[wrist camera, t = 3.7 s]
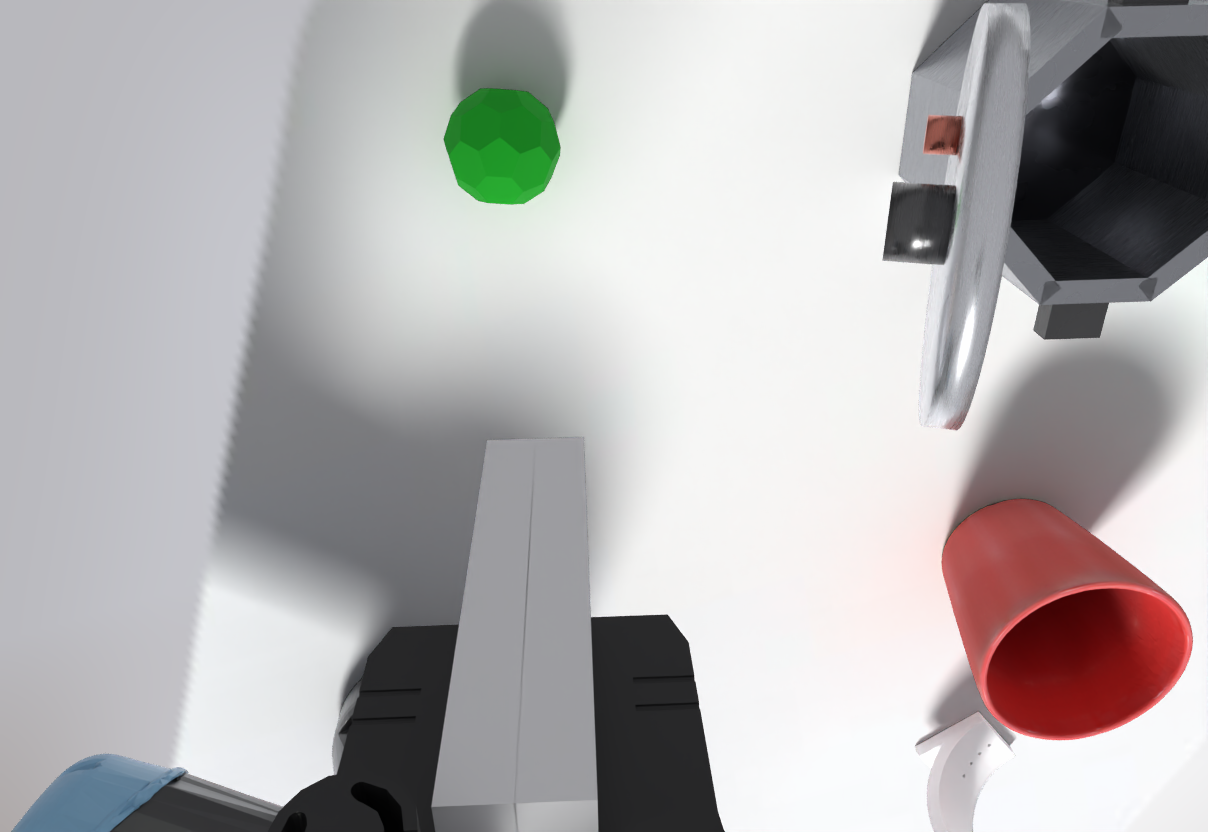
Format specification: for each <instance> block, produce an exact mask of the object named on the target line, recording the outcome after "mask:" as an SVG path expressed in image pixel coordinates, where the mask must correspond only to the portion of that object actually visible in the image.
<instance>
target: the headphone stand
mask: <svg viewBox="0 0 1208 832" xmlns="http://www.w3.org/2000/svg"><path fill="white" fill-rule="evenodd" d="M915 748H916V751H917V753H918V755H919V757H920V758H921V759H922V760H923V761H924V762H925V763H926V764H927V765H928V766H929V767H930V768H931V771H930V775H929V779H928V785H927V806H928V813H929V817H930V821H931V824H932V827H933V830H934V832H973V816H974V810H975V806H976V802H977V800H978V797H979V794H980V792H981V790H982V788H983V787H984V785H985V783H986V782H987V780H988V779H989V778H990V777H991V775H992V774H993V773H994V772H995V771H996V770H997V769H998V768H999V767H1000V766H1001V765H1003V764H1004V763H1005V762H1007V761H1008V760H1010V759H1011V758H1013V757H1015V754H1014V753H1013V751H1012V749H1011V747H1010V746H1009V745H1008V743H1007V742H1006V741H1005V740H1004V739H1003V738H1002V737H1001V736H1000V735H999V734H998V732H997V731H996V730H995V729H994V728H993V727H992V726H991V725H990V724H989V722H988V721H987V720H986V719H985V718H984V717H983V716H982V715H981V714H980V713H979V711H978V712H976V713H974V714H973V715H971V716H969V717H967V718H965V719H964V720H962V721H960V722H958V723H956V724H955V725H953V726H951V727H949V728H947V729H946V730H944V731H942V732H940V733H938V734H937V735H935V736H933V737H931V738H929V739H928V740H926V741H924V742H922V743H920V744H919V745H917V746H915Z"/></svg>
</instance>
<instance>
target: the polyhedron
mask: <svg viewBox="0 0 1208 832" xmlns="http://www.w3.org/2000/svg"><path fill="white" fill-rule="evenodd" d="M444 142H445V146H446V149H447V152H448V155H449V158H450V162H451V165H452V168H453V171H454V174H455V177H456V180H457V183H458V185H459V186H460V187H461V188H462V189H464V190H465V191H466V192H467V193H469V194H470V195H471V196H473V197H474V198H475V199H476V200H478V201H481V202H486V203H496V204H524V203H526V202H528V201H529V200H531V199H532V198H534V197H535V196H537V195H538V194H540V193H542V192H543V191H544V190H545V188H546V186H547V185H548V183H549V181H550V179H551V177H552V175H553V172H554V169H555V167H556V164H557V162H558V159H559V156H560V143H559V139H558V136H557V132H556V128H555V124H554V121H553V119H552V117H551V115H550V113H549V110H548V108H547V107H545V106H544V105H543V104H542V103H541V102H540V101H538V100H537V99H536V98H535V97H534V96H533V95H531V94H530V93H529V92H525V91H518V90H506V89H492V88H484V89H479V90H478V91H476V92H475V93H473V94H472V95H470V96H469V97H467V98H466V99H464V100H463V101H462V102H460V104H459V105H458V106H457V108H456V109H455V111H454V112H453V113H452V115H451V117H450V120H449V123H448V127H447V130H446V133H445V136H444Z"/></svg>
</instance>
